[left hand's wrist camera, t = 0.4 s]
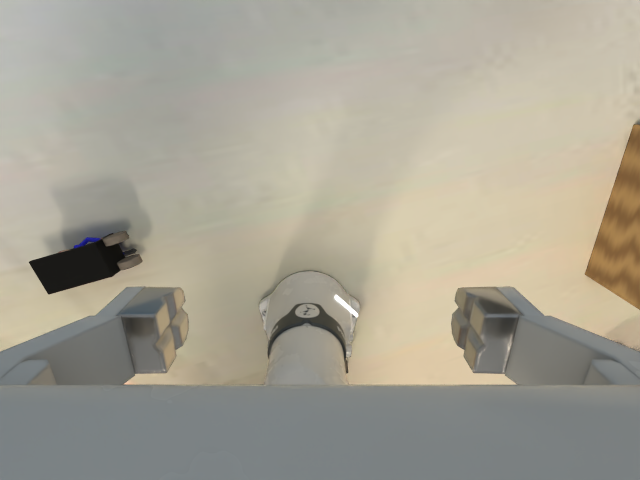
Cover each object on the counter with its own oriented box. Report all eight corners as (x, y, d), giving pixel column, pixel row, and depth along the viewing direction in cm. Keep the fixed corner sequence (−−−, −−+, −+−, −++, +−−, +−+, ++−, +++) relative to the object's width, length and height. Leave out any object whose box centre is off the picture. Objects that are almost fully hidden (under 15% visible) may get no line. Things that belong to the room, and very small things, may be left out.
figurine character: (135, 219, 60) (53, 246, 60) (115, 233, 53) (22, 263, 53) (153, 253, 62) (74, 278, 62) (136, 270, 55) (47, 299, 55)
